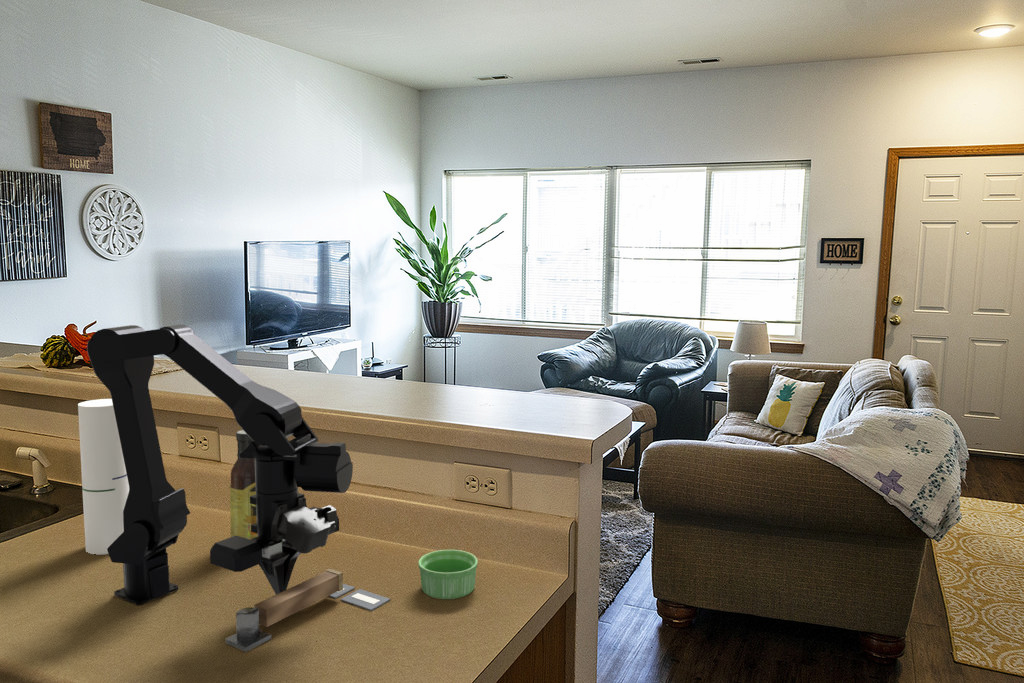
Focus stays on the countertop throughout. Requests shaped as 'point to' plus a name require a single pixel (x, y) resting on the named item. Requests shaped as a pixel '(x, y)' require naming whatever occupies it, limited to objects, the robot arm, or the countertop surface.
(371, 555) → the countertop surface
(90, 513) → the cylindrical container
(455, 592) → the ramekin
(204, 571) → the countertop surface
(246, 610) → the post on base plate
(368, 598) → the label tile
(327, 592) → the bar
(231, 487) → the sauce bottle
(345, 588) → the label tile
